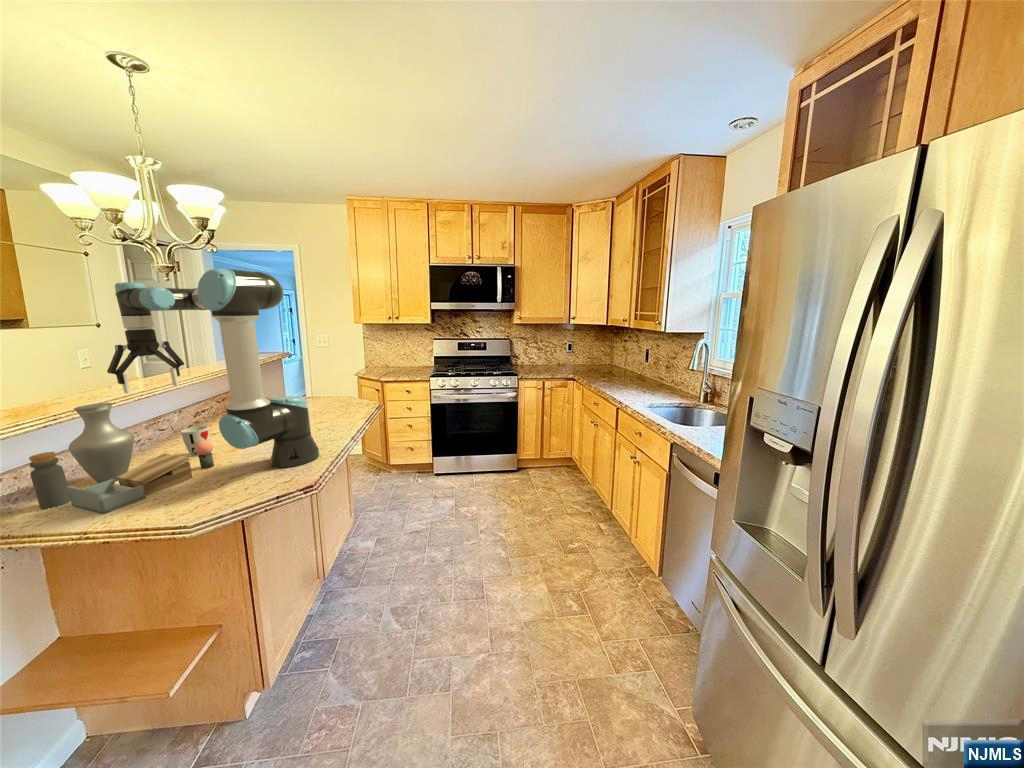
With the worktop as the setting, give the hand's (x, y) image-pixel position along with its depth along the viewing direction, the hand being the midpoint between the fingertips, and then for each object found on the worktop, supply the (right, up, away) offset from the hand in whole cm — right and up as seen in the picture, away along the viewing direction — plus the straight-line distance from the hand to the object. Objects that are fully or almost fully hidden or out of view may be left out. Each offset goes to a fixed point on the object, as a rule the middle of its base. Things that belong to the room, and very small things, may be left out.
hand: (153, 389), depth 135 cm
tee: (+22, -27, -3) cm, 35 cm away
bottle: (-3, -33, -26) cm, 42 cm away
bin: (+12, -32, -26) cm, 43 cm away
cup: (+8, -25, +10) cm, 28 cm away
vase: (-3, -30, -11) cm, 32 cm away
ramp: (+16, -30, -15) cm, 37 cm away
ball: (+21, -23, -4) cm, 31 cm away
